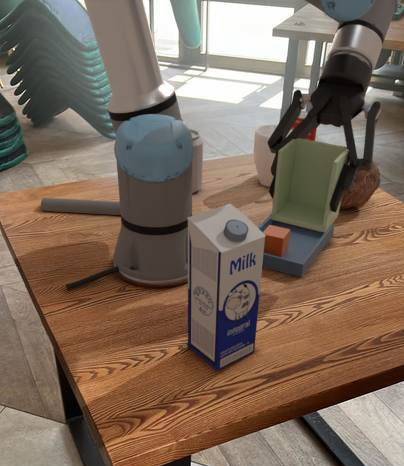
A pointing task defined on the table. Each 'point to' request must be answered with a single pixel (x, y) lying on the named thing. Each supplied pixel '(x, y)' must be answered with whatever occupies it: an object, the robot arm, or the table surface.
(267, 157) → the mug
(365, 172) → the decorative rock
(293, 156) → the box
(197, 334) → the milk carton
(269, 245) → the block
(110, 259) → the table surface
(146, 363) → the table surface
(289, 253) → the tray
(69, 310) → the table surface
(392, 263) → the table surface
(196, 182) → the can
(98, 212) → the half round rod
